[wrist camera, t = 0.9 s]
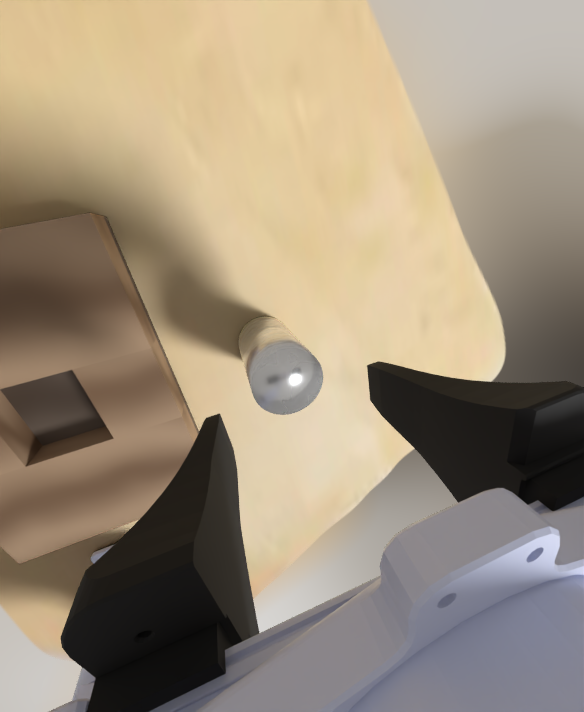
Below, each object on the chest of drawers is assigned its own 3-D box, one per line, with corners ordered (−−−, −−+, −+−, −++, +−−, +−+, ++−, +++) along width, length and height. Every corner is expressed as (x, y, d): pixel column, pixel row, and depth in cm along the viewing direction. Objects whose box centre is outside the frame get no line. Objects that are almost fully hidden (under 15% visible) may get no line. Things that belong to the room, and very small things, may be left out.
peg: (293, 357, 22) (327, 401, 16) (246, 372, 22) (262, 424, 15) (284, 310, 21) (316, 339, 14) (231, 324, 20) (242, 361, 14)
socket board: (214, 468, 24) (215, 490, 22) (38, 531, 22) (18, 564, 20) (106, 216, 16) (89, 212, 14) (-201, 274, 13) (-283, 280, 11)
